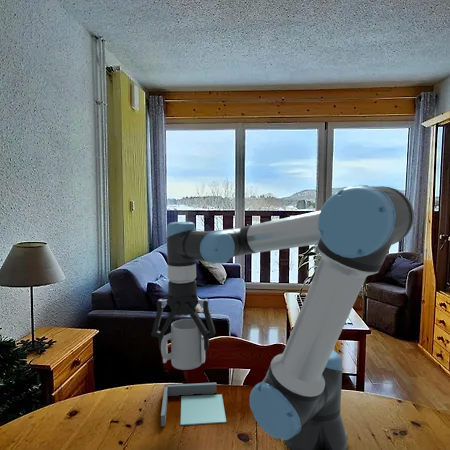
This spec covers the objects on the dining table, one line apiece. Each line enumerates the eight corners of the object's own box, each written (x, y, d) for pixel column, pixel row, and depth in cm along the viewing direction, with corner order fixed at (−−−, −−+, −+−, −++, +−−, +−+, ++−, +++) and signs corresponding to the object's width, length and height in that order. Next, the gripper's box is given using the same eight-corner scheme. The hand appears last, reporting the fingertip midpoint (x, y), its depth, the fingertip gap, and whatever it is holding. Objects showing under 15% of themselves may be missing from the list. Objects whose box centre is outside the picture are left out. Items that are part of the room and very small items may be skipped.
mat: (221, 395, 110) (221, 394, 110) (226, 422, 98) (226, 421, 97) (181, 397, 109) (181, 396, 109) (180, 425, 96) (180, 424, 96)
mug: (191, 353, 108) (191, 316, 107) (208, 363, 101) (208, 324, 100) (154, 365, 100) (153, 326, 99) (170, 377, 93) (169, 335, 93)
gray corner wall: (216, 391, 112) (216, 382, 112) (220, 423, 97) (220, 412, 97) (164, 394, 111) (164, 385, 110) (161, 426, 96) (160, 415, 96)
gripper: (224, 276, 102) (226, 354, 104) (144, 277, 103) (147, 354, 105) (223, 282, 94) (224, 367, 96) (137, 283, 95) (140, 367, 97)
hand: (184, 360), depth 100 cm, fingers closed on mug, 10 cm apart
